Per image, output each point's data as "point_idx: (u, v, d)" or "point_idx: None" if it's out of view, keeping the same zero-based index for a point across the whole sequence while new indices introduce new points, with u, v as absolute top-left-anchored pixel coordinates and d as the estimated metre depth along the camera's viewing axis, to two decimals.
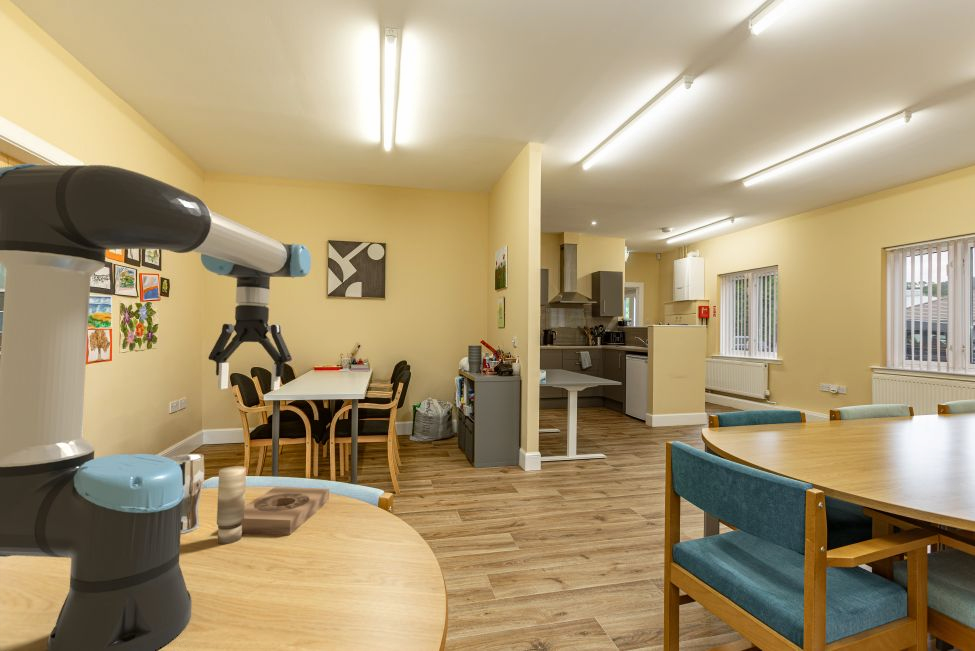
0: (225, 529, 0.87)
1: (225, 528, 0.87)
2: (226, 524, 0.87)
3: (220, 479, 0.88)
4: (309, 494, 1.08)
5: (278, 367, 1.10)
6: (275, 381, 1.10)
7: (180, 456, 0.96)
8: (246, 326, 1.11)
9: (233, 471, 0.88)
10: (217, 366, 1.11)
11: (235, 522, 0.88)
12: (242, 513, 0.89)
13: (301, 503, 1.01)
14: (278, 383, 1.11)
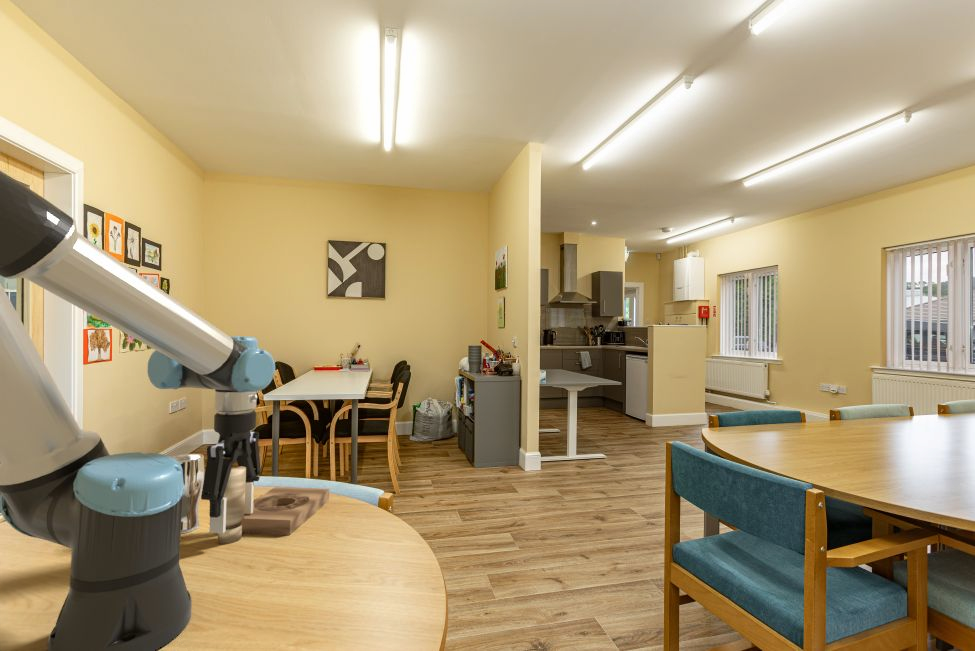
0: None
1: None
2: (226, 524, 0.87)
3: None
4: (309, 494, 1.08)
5: None
6: (213, 520, 0.85)
7: (180, 456, 0.96)
8: None
9: (233, 471, 0.88)
10: None
11: (235, 522, 0.88)
12: (242, 513, 0.89)
13: (301, 503, 1.01)
14: (219, 524, 0.85)
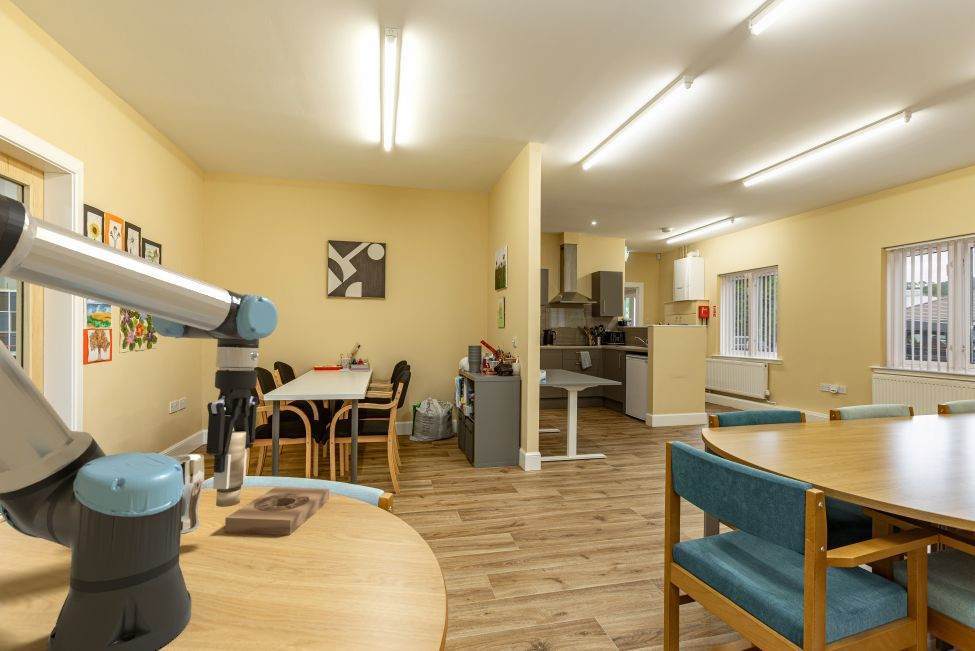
0: (224, 491, 0.87)
1: (224, 491, 0.87)
2: None
3: None
4: (309, 494, 1.08)
5: None
6: (217, 476, 0.86)
7: (180, 456, 0.96)
8: None
9: (233, 434, 0.88)
10: None
11: (234, 485, 0.88)
12: (241, 477, 0.89)
13: (301, 503, 1.01)
14: (223, 481, 0.86)
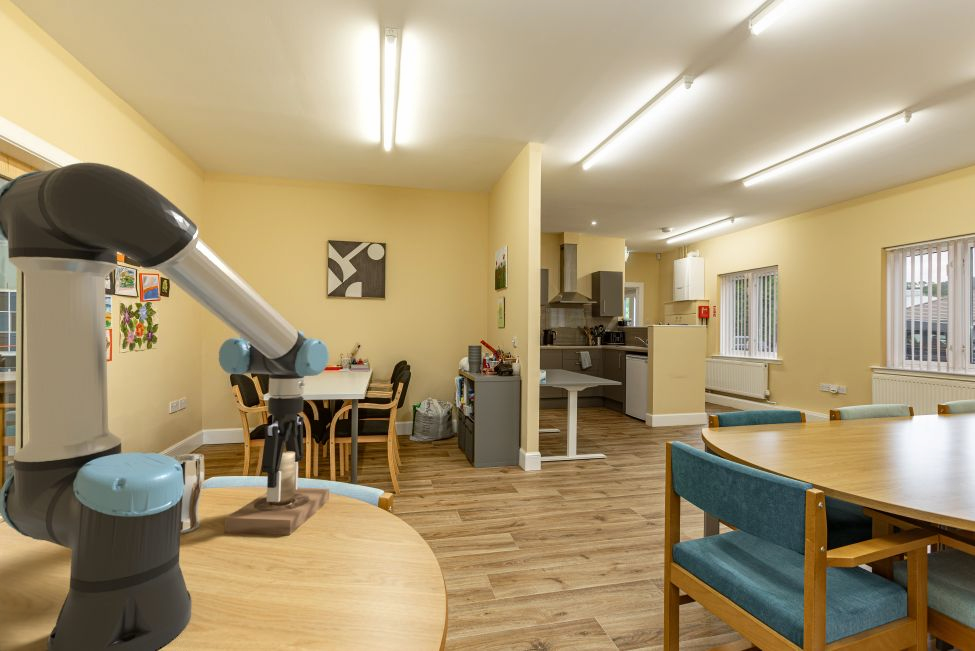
0: (279, 505, 1.00)
1: (279, 504, 1.00)
2: (280, 501, 1.00)
3: None
4: (309, 494, 1.08)
5: None
6: (270, 491, 0.98)
7: (180, 456, 0.96)
8: None
9: (285, 455, 1.01)
10: None
11: (287, 499, 1.01)
12: (292, 492, 1.02)
13: (301, 503, 1.01)
14: (275, 494, 0.98)
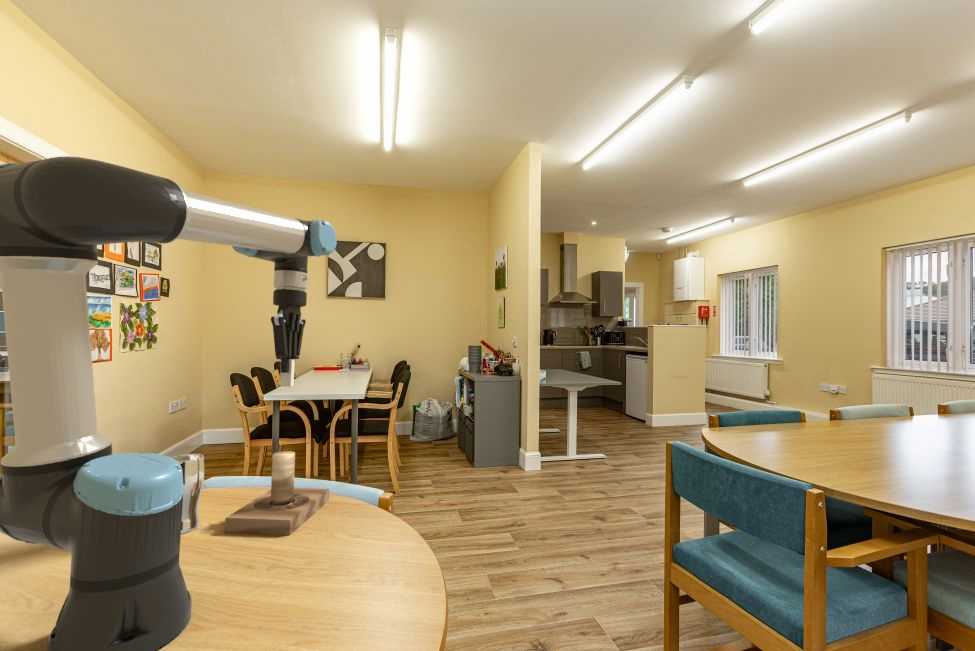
0: (279, 505, 1.00)
1: (279, 504, 1.00)
2: (280, 501, 1.00)
3: (274, 462, 1.00)
4: (309, 494, 1.08)
5: None
6: (283, 376, 1.07)
7: (180, 456, 0.96)
8: None
9: (285, 455, 1.01)
10: None
11: (287, 499, 1.01)
12: (292, 492, 1.02)
13: (301, 503, 1.01)
14: (288, 380, 1.07)
